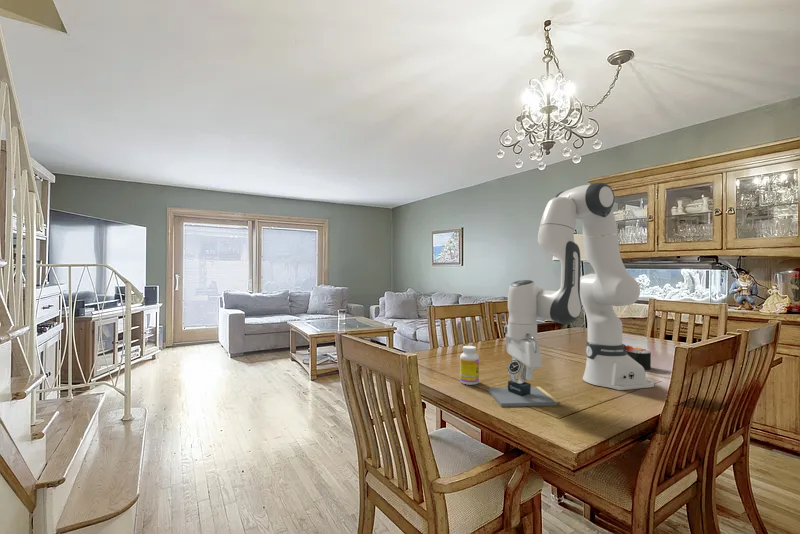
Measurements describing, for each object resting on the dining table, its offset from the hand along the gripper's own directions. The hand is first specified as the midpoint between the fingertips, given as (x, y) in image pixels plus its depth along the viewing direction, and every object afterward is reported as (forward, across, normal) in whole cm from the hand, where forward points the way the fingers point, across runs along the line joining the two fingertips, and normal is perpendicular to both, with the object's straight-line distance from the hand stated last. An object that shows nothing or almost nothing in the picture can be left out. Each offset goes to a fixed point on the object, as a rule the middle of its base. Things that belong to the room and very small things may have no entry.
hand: (522, 374), depth 119 cm
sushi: (+8, +31, -61) cm, 68 cm away
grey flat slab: (+7, 0, 0) cm, 7 cm away
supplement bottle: (+7, +16, +13) cm, 22 cm away
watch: (+6, +2, +1) cm, 7 cm away
